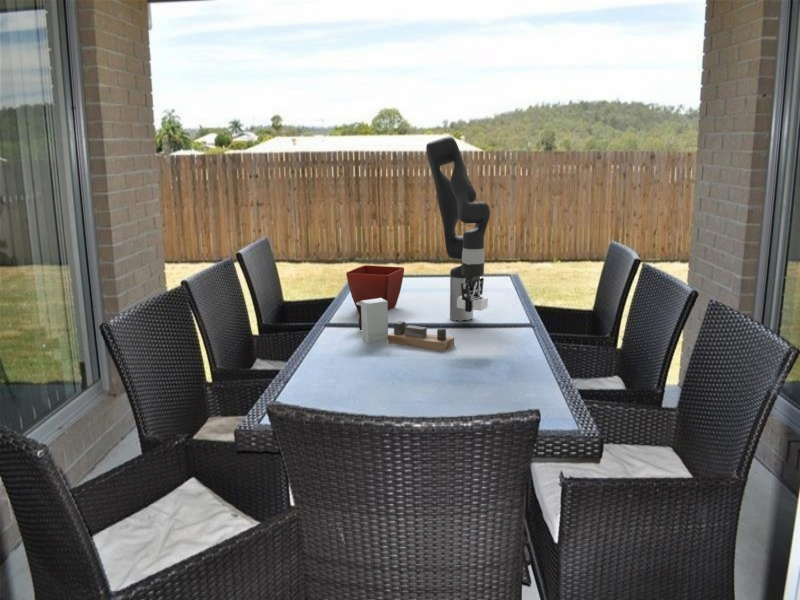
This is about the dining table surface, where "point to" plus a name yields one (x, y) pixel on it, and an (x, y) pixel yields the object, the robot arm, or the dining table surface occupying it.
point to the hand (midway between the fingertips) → (472, 309)
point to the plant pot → (376, 283)
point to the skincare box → (374, 320)
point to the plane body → (420, 337)
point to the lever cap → (474, 303)
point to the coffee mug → (359, 314)
